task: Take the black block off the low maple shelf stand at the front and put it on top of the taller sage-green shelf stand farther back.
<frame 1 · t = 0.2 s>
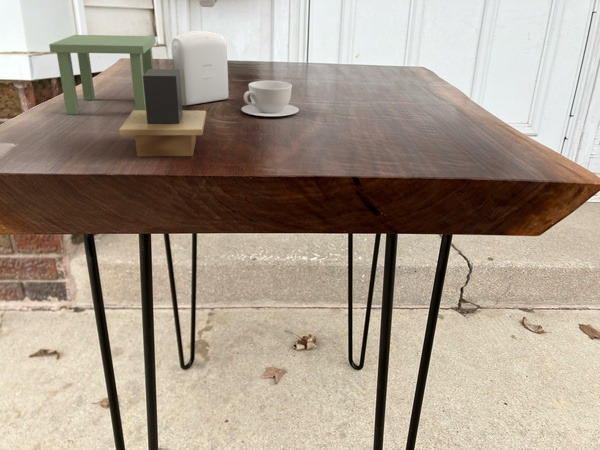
hand: (209, 4, 68), 18 cm above the table, tool pointing down, fingers open, 8 cm apart
teacup: (270, 113, 92), on the table
high shelf: (114, 106, 92), on the table
photo printer: (202, 102, 98), on the table
black block: (165, 119, 69), point 4 cm above the table, touching low shelf
low shelf: (168, 148, 71), on the table
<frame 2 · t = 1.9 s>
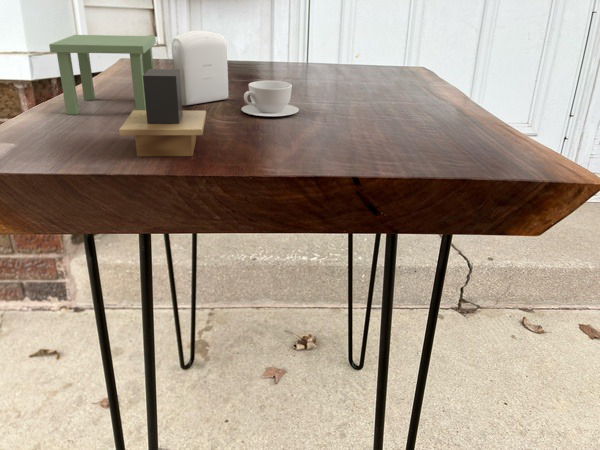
nothing on the table moved.
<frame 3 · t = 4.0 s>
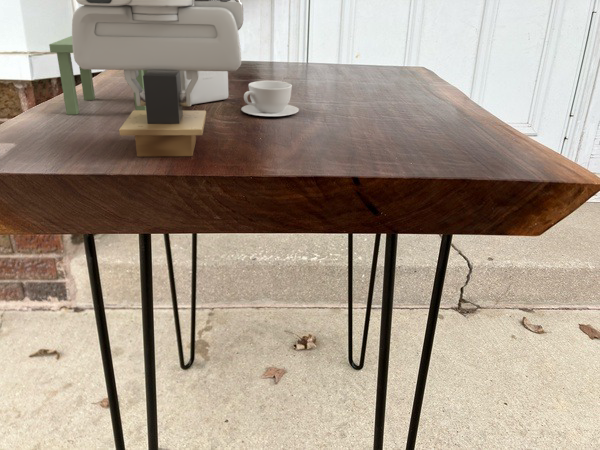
hand: (164, 105, 69), 6 cm above the table, tool pointing down, fingers closed on black block, 4 cm apart
black block: (165, 119, 69), point 4 cm above the table, touching gripper, low shelf
everything else where it was.
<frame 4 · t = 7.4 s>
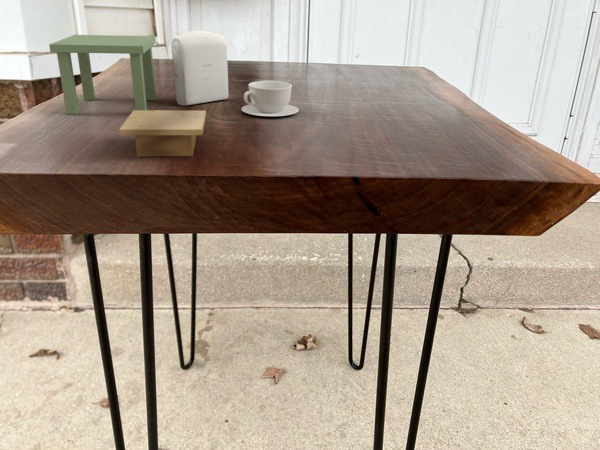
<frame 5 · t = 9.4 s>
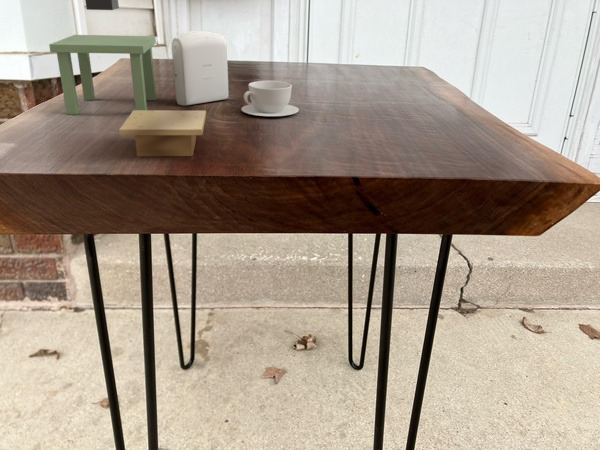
black block: (103, 8, 85), point 16 cm above the table, touching gripper
everything else where it was.
when the fingers open (13 cm above the table, at t = 10.9 s): black block stays where it is, resting on high shelf.
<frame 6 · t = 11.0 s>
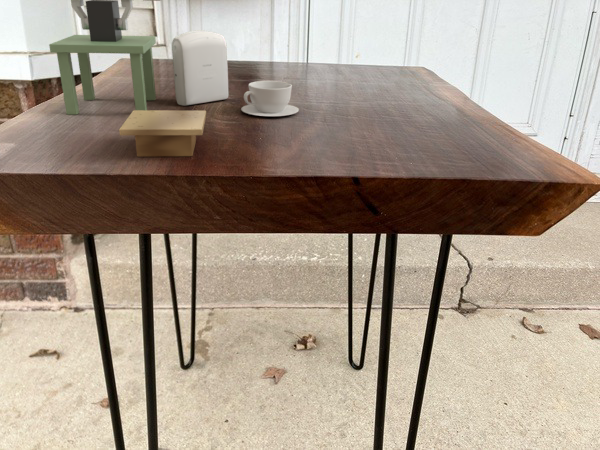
hand: (105, 29, 87), 13 cm above the table, tool pointing down, fingers open, 4 cm apart
black block: (106, 39, 88), point 11 cm above the table, touching high shelf
everything else where it was.
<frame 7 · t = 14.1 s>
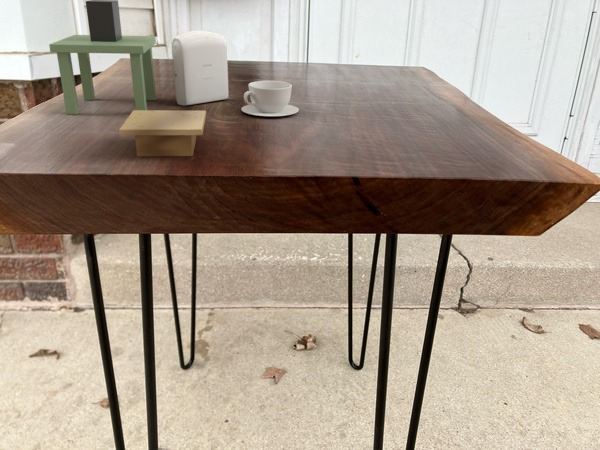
nothing on the table moved.
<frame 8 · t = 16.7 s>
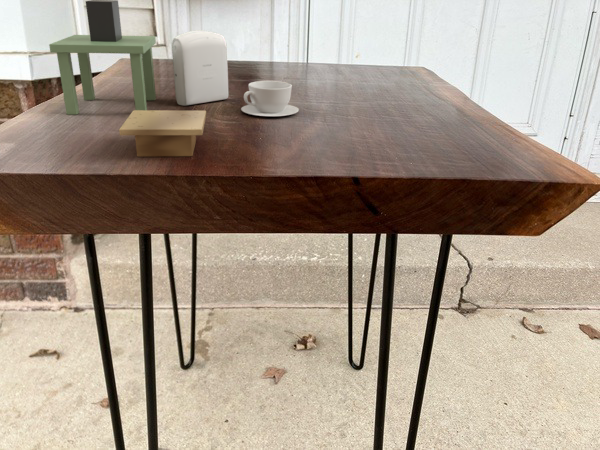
nothing on the table moved.
at the end: black block inside the target area on the high shelf (0.1 cm from its centre), point 11.0 cm above the high shelf's base; black block tilted 0°; the gripper is holding nothing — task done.
